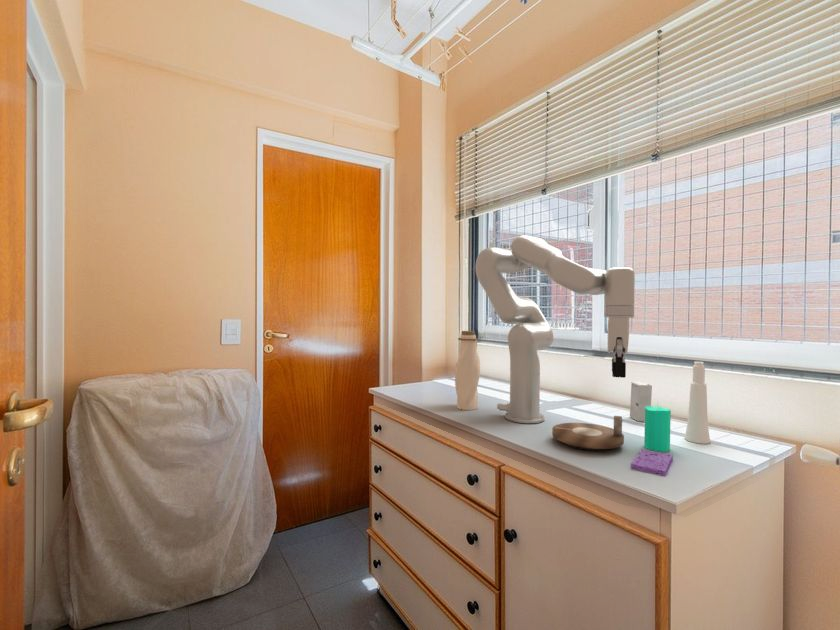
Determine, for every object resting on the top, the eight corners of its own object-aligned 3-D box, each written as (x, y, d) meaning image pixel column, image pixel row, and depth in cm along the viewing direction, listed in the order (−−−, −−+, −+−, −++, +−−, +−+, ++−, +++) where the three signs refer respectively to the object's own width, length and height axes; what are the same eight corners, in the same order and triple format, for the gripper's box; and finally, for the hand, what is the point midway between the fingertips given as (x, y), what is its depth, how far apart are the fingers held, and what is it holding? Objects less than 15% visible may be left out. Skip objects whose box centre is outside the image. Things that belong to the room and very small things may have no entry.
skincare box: (629, 416, 142) (629, 381, 142) (642, 417, 142) (643, 381, 142) (637, 421, 136) (638, 384, 136) (651, 422, 136) (652, 384, 135)
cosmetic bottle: (681, 439, 117) (682, 361, 117) (688, 435, 121) (690, 360, 121) (706, 445, 113) (708, 364, 112) (713, 441, 117) (715, 362, 116)
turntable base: (561, 446, 111) (561, 441, 111) (565, 434, 122) (565, 429, 122) (611, 453, 106) (611, 447, 106) (611, 439, 117) (611, 434, 117)
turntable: (548, 442, 109) (548, 417, 109) (556, 425, 126) (556, 403, 126) (625, 453, 102) (625, 426, 102) (622, 433, 118) (623, 409, 118)
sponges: (673, 462, 102) (673, 454, 102) (665, 478, 92) (665, 470, 92) (640, 455, 106) (640, 448, 106) (630, 470, 96) (630, 462, 96)
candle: (673, 452, 107) (674, 405, 107) (648, 450, 108) (649, 404, 108) (665, 445, 113) (665, 400, 113) (640, 443, 114) (641, 399, 114)
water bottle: (455, 403, 160) (456, 330, 159) (479, 404, 158) (480, 330, 158) (454, 410, 149) (454, 331, 149) (479, 411, 148) (480, 332, 148)
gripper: (604, 312, 126) (603, 369, 126) (604, 312, 110) (603, 378, 110) (632, 312, 123) (631, 371, 123) (636, 312, 107) (635, 380, 107)
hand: (618, 374), depth 116 cm, fingers open, 8 cm apart
